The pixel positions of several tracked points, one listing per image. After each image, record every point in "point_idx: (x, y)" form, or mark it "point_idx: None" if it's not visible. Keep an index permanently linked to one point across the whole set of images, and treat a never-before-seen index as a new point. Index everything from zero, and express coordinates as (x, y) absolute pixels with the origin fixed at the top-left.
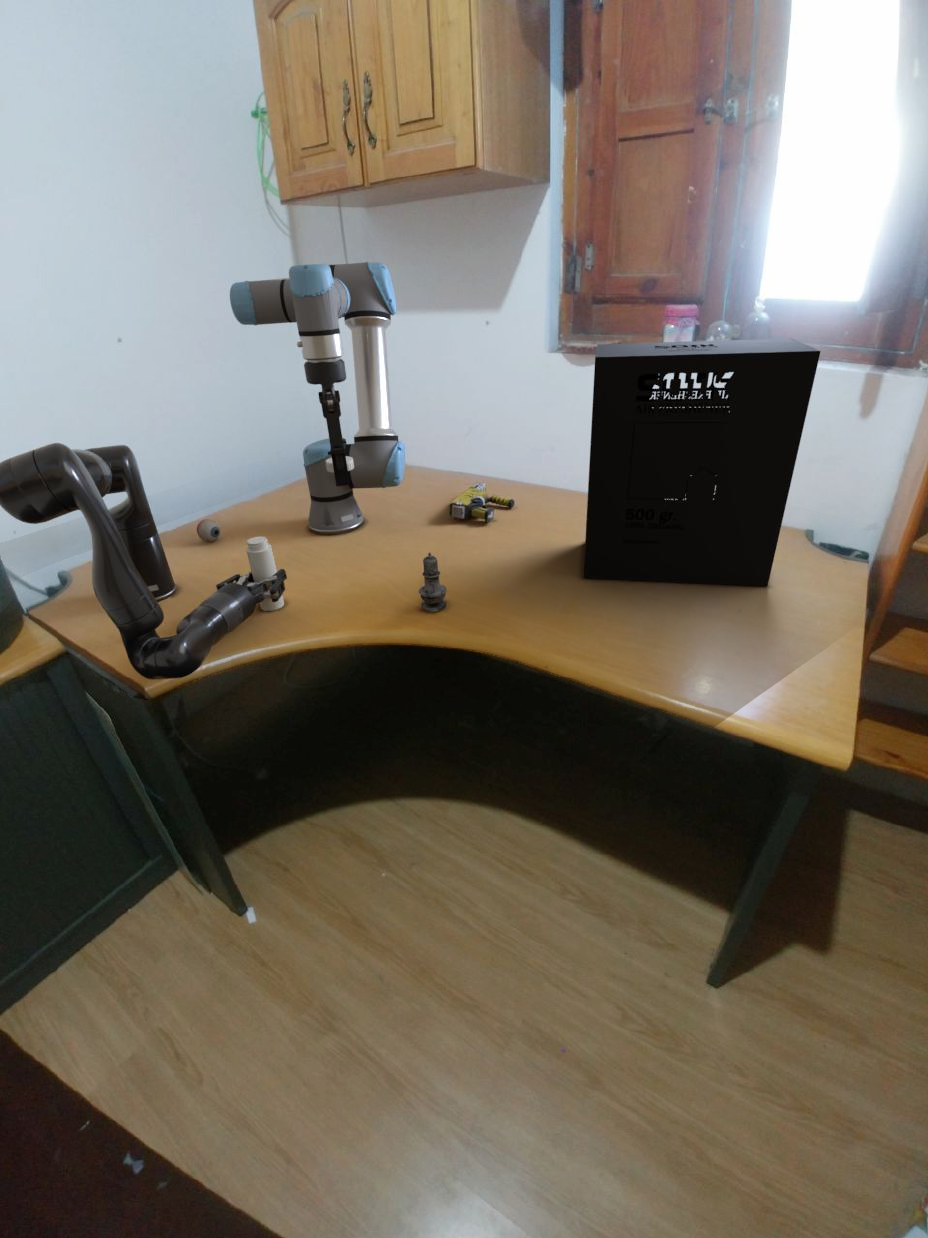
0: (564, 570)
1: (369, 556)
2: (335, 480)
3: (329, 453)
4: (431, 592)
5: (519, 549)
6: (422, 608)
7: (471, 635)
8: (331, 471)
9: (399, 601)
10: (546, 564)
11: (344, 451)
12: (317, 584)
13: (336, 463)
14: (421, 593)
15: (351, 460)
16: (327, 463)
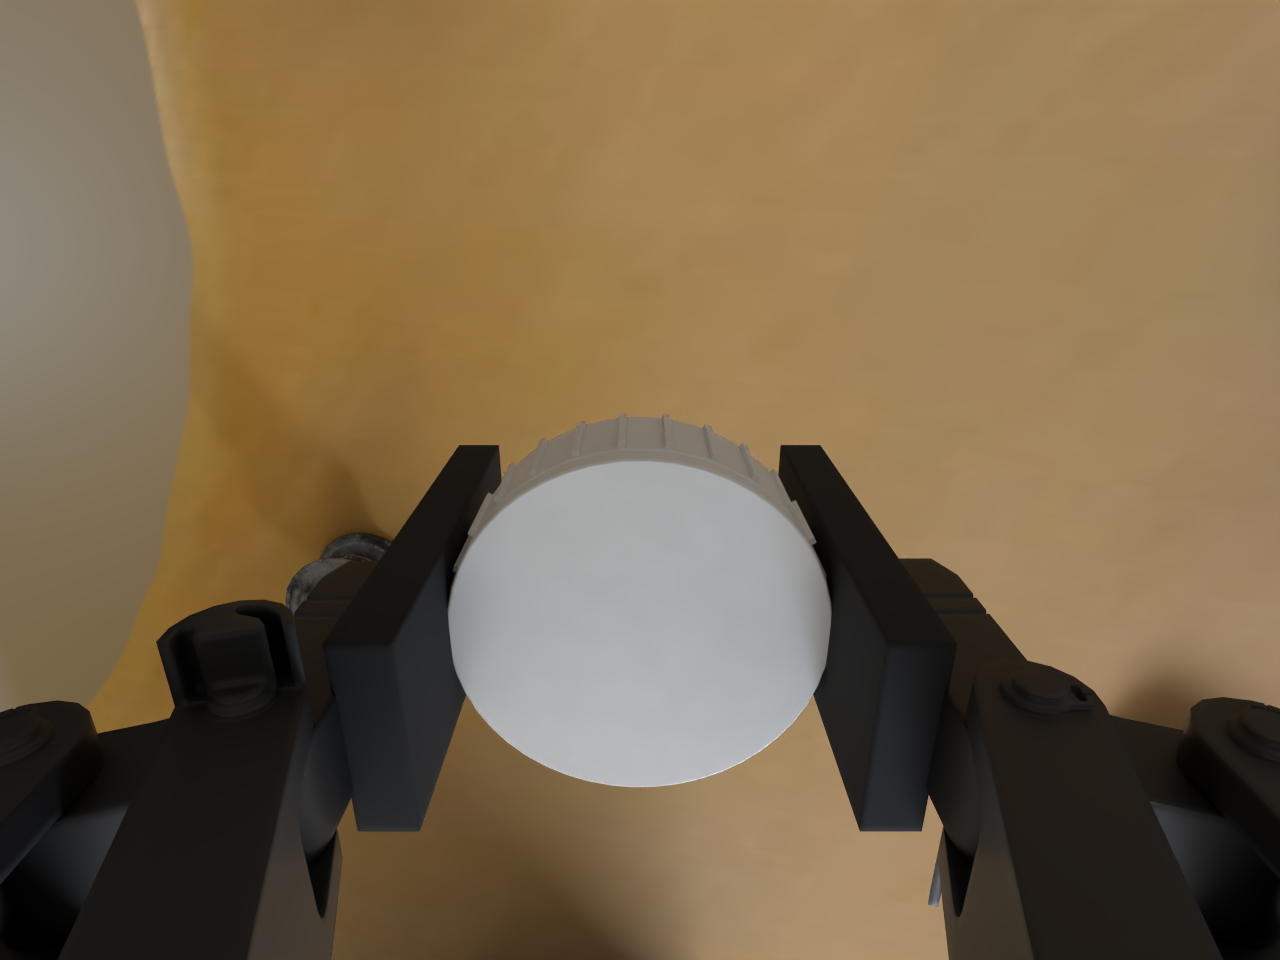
0: (532, 950)
1: (924, 384)
2: (445, 468)
3: (187, 644)
4: (299, 604)
5: (736, 889)
6: (347, 535)
7: (153, 644)
8: (512, 471)
9: (432, 463)
10: (590, 924)
11: (836, 754)
12: (701, 108)
13: (295, 619)
14: (317, 567)
15: (552, 766)
16: (547, 474)
